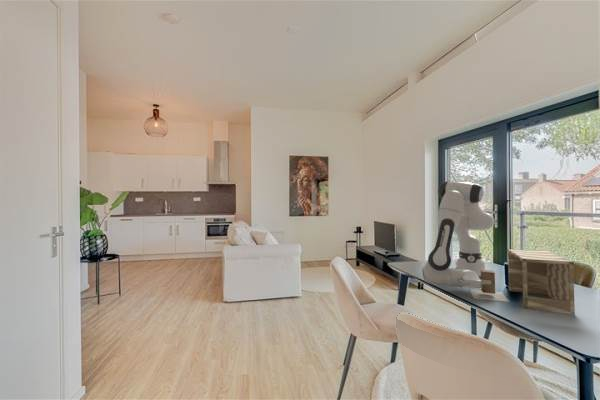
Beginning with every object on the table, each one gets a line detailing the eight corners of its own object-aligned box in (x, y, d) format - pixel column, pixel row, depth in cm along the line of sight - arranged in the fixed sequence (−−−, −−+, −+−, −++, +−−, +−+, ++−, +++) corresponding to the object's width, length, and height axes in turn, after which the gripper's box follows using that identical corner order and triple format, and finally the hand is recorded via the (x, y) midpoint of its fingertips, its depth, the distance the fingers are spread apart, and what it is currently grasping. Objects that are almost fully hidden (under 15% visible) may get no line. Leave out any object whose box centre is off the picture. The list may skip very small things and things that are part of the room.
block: (481, 289, 138) (480, 269, 138) (493, 290, 136) (492, 270, 136) (482, 292, 134) (482, 271, 134) (495, 293, 131) (494, 272, 132)
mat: (469, 289, 144) (469, 289, 144) (502, 293, 138) (502, 292, 138) (473, 298, 132) (473, 297, 132) (509, 302, 126) (509, 301, 126)
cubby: (509, 290, 142) (507, 249, 142) (549, 294, 135) (548, 251, 135) (524, 308, 118) (523, 258, 118) (574, 314, 111) (573, 261, 111)
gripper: (459, 276, 131) (494, 279, 125) (455, 267, 150) (486, 269, 144) (459, 289, 131) (494, 293, 125) (455, 278, 149) (486, 281, 144)
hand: (489, 280), depth 134 cm, fingers closed on block, 5 cm apart
